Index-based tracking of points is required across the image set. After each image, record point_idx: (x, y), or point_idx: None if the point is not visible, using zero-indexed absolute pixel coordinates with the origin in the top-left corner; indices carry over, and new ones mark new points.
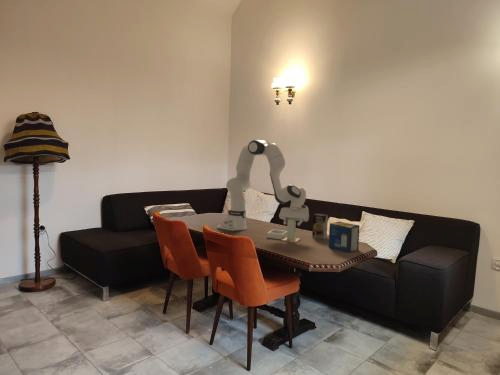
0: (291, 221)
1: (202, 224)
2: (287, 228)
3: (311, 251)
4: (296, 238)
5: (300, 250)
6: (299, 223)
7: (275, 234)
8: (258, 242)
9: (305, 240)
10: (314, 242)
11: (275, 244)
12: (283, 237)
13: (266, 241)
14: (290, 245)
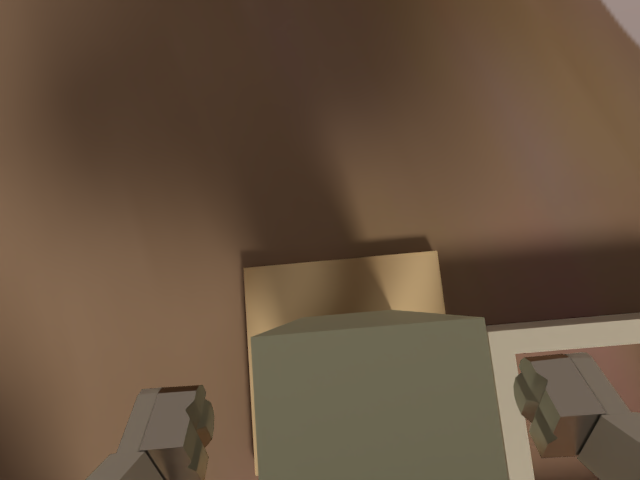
0: (342, 328)
1: None
2: (418, 312)
3: (3, 33)
4: None
5: (109, 6)
6: (128, 420)
7: (594, 322)
8: (620, 36)
9: None
10: (54, 424)
11: (420, 67)
12: None
13: (572, 126)
14: (262, 121)
